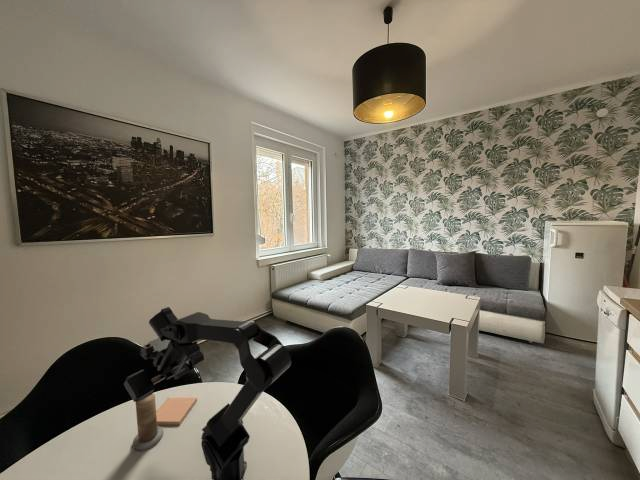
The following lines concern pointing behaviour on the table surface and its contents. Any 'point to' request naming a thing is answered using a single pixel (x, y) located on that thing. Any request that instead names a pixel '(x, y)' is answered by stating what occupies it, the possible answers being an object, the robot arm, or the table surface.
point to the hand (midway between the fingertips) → (159, 387)
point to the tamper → (147, 424)
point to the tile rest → (174, 410)
